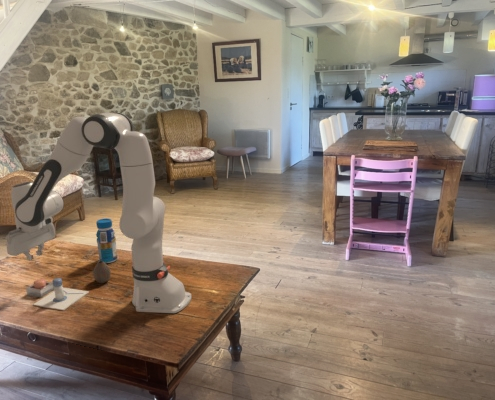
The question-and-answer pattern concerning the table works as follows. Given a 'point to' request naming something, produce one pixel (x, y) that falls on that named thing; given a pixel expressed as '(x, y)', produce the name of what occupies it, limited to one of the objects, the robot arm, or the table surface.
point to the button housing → (40, 290)
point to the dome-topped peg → (58, 289)
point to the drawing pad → (69, 299)
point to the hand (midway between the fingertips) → (35, 257)
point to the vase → (101, 272)
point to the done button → (39, 283)
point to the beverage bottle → (106, 241)
